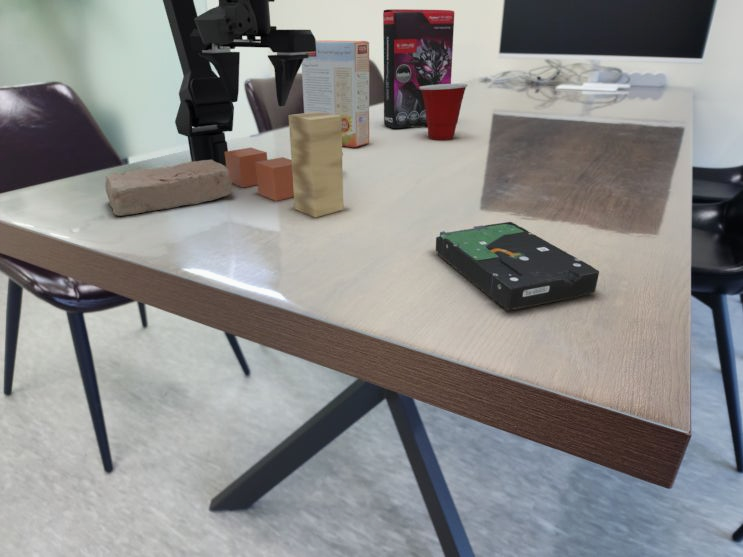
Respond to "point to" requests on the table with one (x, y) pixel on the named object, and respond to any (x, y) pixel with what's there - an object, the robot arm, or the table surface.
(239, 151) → the cube far
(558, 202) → the table surface
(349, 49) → the cracker box
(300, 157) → the maple block
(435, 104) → the plastic cup
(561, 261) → the disk drive
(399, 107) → the graphics card box
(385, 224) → the table surface
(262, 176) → the cube mid
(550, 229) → the table surface
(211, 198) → the brick
